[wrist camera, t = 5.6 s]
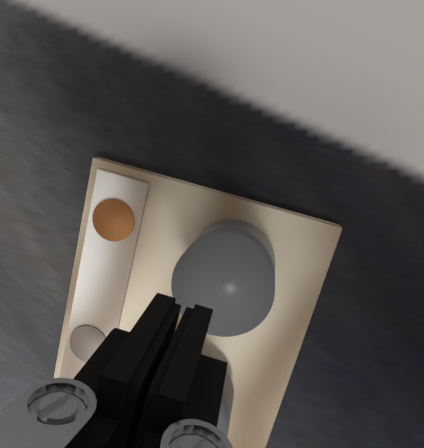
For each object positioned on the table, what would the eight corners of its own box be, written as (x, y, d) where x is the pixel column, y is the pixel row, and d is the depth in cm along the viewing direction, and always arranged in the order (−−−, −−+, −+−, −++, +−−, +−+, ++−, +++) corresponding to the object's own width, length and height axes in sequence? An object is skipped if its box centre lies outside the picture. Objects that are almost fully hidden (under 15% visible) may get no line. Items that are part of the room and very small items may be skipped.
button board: (339, 224, 21) (344, 230, 20) (233, 527, 26) (231, 550, 25) (100, 157, 22) (88, 158, 21) (45, 458, 28) (32, 475, 26)
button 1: (286, 232, 19) (288, 255, 16) (261, 310, 20) (257, 349, 17) (202, 208, 20) (184, 224, 16) (182, 286, 21) (161, 319, 17)
